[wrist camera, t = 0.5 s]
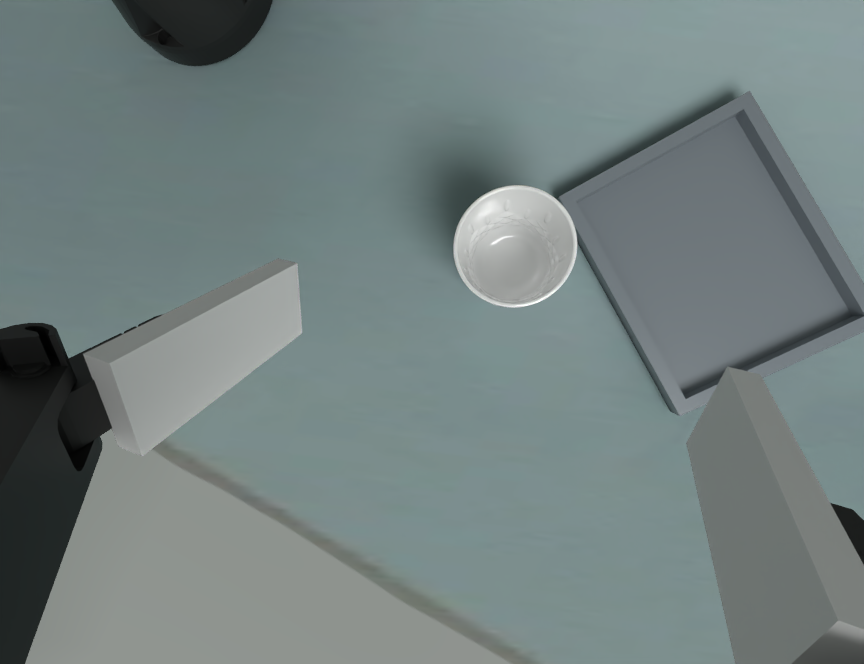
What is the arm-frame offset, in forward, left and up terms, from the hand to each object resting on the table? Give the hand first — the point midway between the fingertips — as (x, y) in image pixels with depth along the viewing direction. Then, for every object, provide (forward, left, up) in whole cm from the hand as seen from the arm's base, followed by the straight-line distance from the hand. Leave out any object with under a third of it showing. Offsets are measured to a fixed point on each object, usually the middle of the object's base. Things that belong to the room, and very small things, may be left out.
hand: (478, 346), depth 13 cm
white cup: (-4, +4, -25) cm, 26 cm away
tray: (+3, +18, -25) cm, 31 cm away
